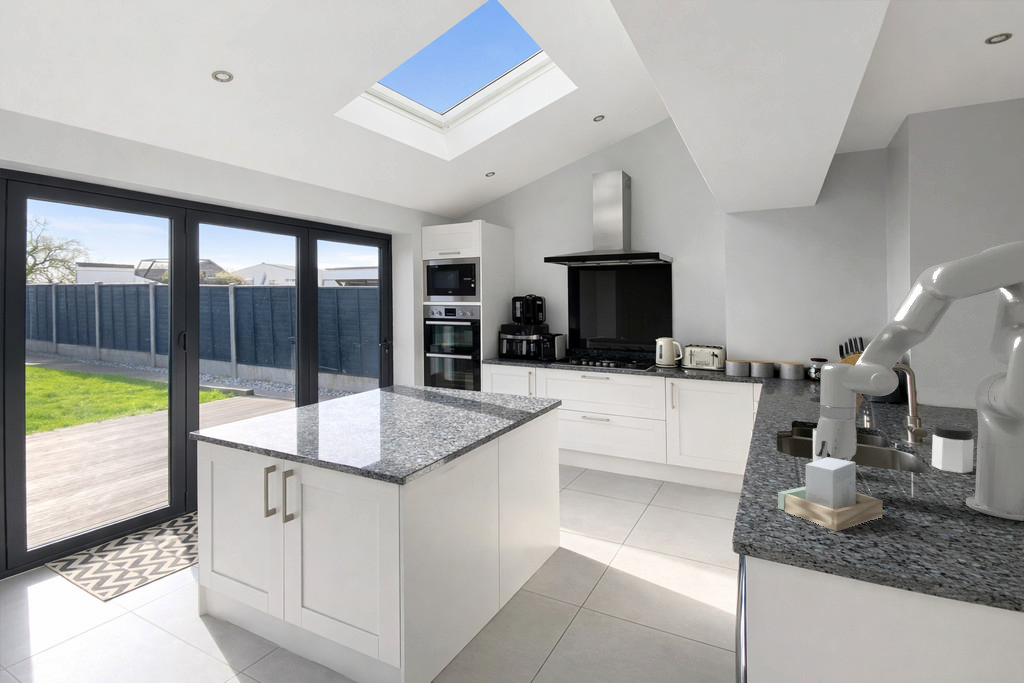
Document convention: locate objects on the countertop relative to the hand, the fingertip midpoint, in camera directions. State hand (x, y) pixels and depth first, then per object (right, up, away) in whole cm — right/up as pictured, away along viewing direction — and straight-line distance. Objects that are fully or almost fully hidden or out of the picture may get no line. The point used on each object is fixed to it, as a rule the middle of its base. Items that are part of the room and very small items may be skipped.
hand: (836, 484), depth 127 cm
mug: (+9, -1, +17) cm, 20 cm away
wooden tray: (-10, -3, -14) cm, 17 cm away
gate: (-13, -2, -6) cm, 15 cm away
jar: (+46, -1, +20) cm, 50 cm away
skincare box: (-10, -2, -13) cm, 17 cm away
